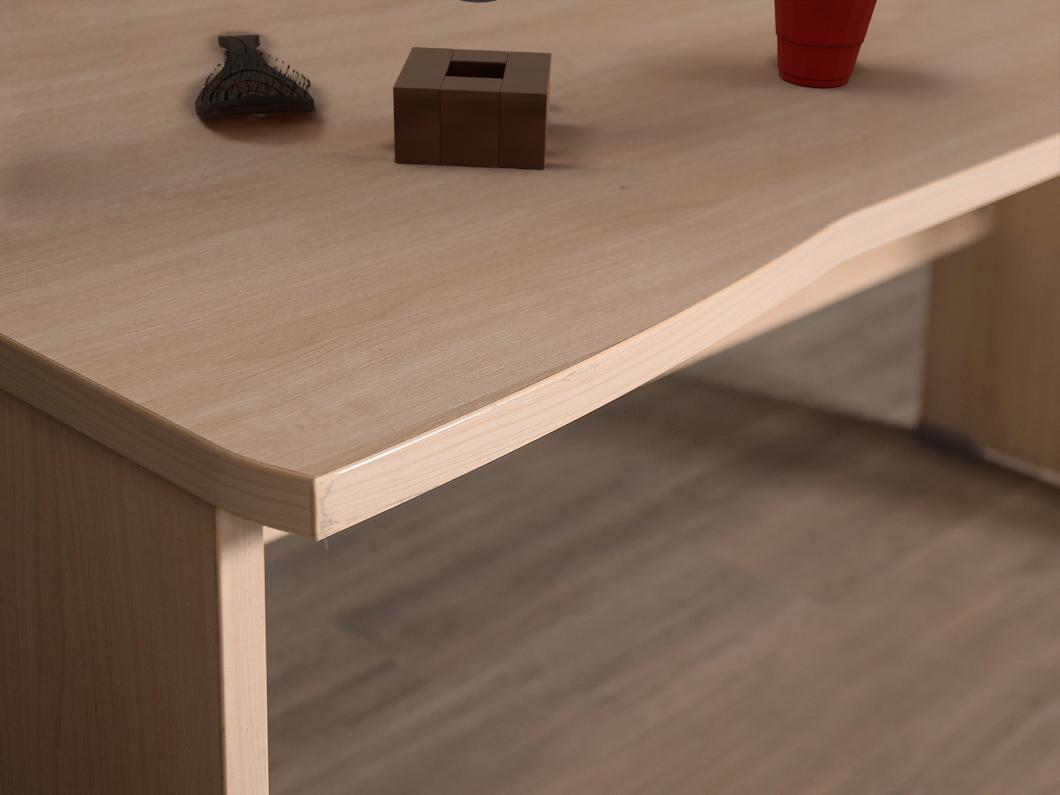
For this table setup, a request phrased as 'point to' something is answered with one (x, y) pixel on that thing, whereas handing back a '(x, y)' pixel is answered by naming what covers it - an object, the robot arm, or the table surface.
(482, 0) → the handle
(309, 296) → the table surface
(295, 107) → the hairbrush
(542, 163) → the holder
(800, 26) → the plastic cup
